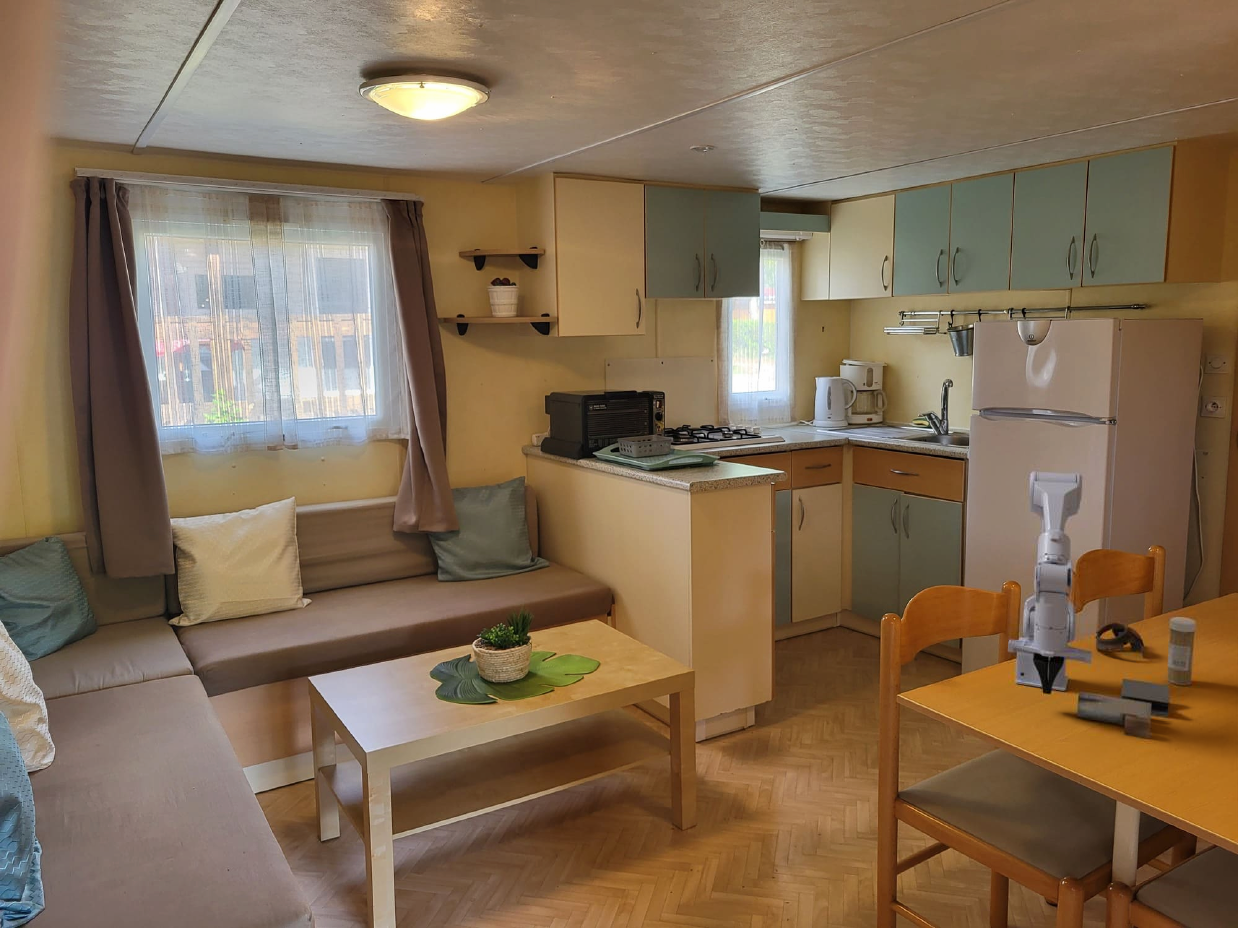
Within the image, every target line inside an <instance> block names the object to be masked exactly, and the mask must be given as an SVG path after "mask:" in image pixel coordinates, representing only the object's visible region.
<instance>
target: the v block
mask: <svg viewBox="0 0 1238 928" xmlns="http://www.w3.org/2000/svg"><path fill="white" fill-rule="evenodd" d="M1121 683H1122V684H1121V695H1120V698H1121V699H1129V700H1135V701H1141V702H1147V703H1151V716H1157V717H1163V718H1169V706H1170V685H1167V684H1161V683H1154V682H1148V681H1147V682H1146V681H1141V680H1134V679H1127V678H1122V682H1121Z"/></svg>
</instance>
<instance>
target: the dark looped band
mask: <svg viewBox="0 0 1238 928" xmlns="http://www.w3.org/2000/svg"><path fill="white" fill-rule="evenodd" d="M1110 630H1111V632H1112V633H1113V636H1114V637H1112V638H1111V637H1110V638H1102V636H1103V634H1105V633H1106V632H1108V631H1110ZM1095 633H1096V635H1095V639H1096V640H1095V648H1096V651H1097V652H1100V651H1107V652H1108V651H1114V650H1121V651H1125V649H1124V648H1125V647H1124V646H1126V645H1128V644H1129V645H1130V649H1131V651H1135V652H1137V651H1138V652H1140V653H1141V654H1142V655H1141V656H1142V659H1144V658H1145V659H1146V658H1147V655H1146V647H1145V644H1144V640H1143V638H1142V637H1141V635H1140V634H1139V633H1138V631H1137V630H1135V629H1134V628H1133V627H1130V626H1129V625H1128V624H1127V623H1126V622H1124V621H1122V620H1119V621H1110V622H1108V623H1105V624H1103V625H1102V626H1100V627H1099V628H1098V629H1097V630H1096V632H1095Z"/></svg>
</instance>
